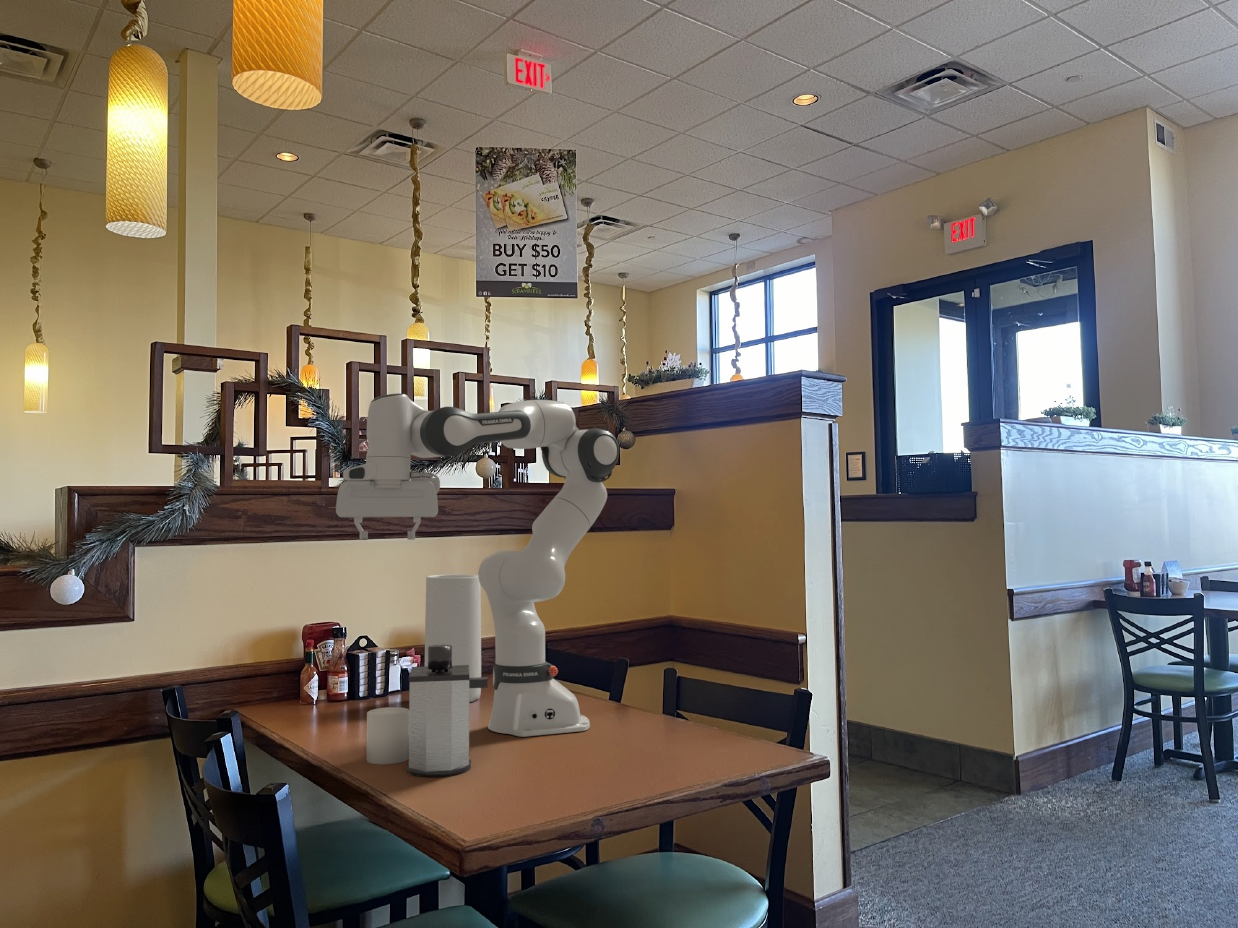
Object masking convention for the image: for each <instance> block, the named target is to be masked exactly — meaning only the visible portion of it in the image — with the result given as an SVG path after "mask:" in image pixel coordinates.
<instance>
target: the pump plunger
mask: <svg viewBox="0 0 1238 928" xmlns="http://www.w3.org/2000/svg"><path fill="white" fill-rule="evenodd" d="M450 668H452V646H451V645H432V646H428V669H430V670H436V672H444V670H445V669H450Z"/></svg>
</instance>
